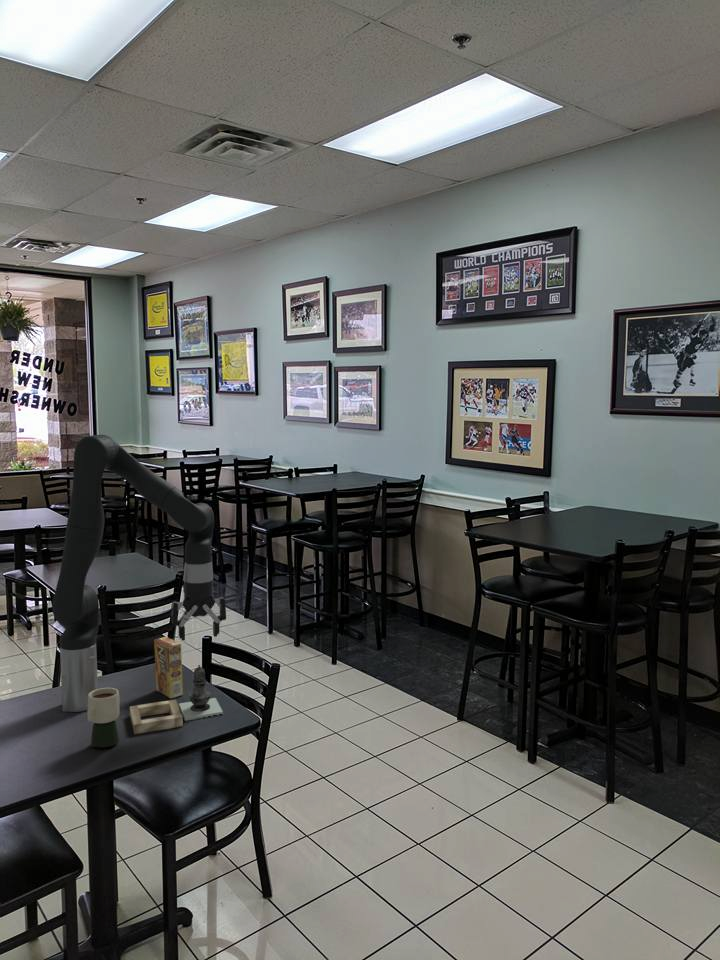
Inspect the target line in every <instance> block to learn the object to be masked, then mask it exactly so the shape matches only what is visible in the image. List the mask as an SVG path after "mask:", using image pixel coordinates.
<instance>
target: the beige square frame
mask: <svg viewBox="0 0 720 960" xmlns="http://www.w3.org/2000/svg"><path fill="white" fill-rule="evenodd" d="M167 713H169V715H166V716H160V717H153V718H146V719H141V718H142V717H148V716H155V715H161V714H167ZM129 717H130V718H129V719H130V722H131V728H132V730H133V731H132V732H133V734H134V735H138V734H143V733H144V734H145V733H150V732H156V731H161V730H162V731H163V730H169V729H173V728H181V727H183V726H184V724H183V723H184V722H183V720H184V717H183V715H182V712H181V710H180V707H179V703H178V702H177V699H175V698H174V699H170V700H165V701H163V700H162V701H155V702H150V703H144V704H137V705H131V706H129Z"/></svg>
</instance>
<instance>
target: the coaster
mask: <svg viewBox="0 0 720 960" xmlns="http://www.w3.org/2000/svg"><path fill="white" fill-rule="evenodd" d="M207 704H209V705H210V708H209V709H208V710H206V711H201V712H195V711H192V710H191V709H190V707H191V706H192V705H194V704H192V702H191V701H186V702H180V703H178V707H179V709H180V712H181V714H182V717H183V720H184V721H185V722H186V721H187V722H188V721H192V720H198V718H199V719H204V718H203V717H205V718H209V717H208V716H211V717H214V716H213V715H217V716H220V715H219V714H223V715H224V711H223V709H222V708H221V705H220V703H219V702H218V700H217V698H216V697H212V698H211V697H210V699H209V701H208V702H207Z"/></svg>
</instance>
